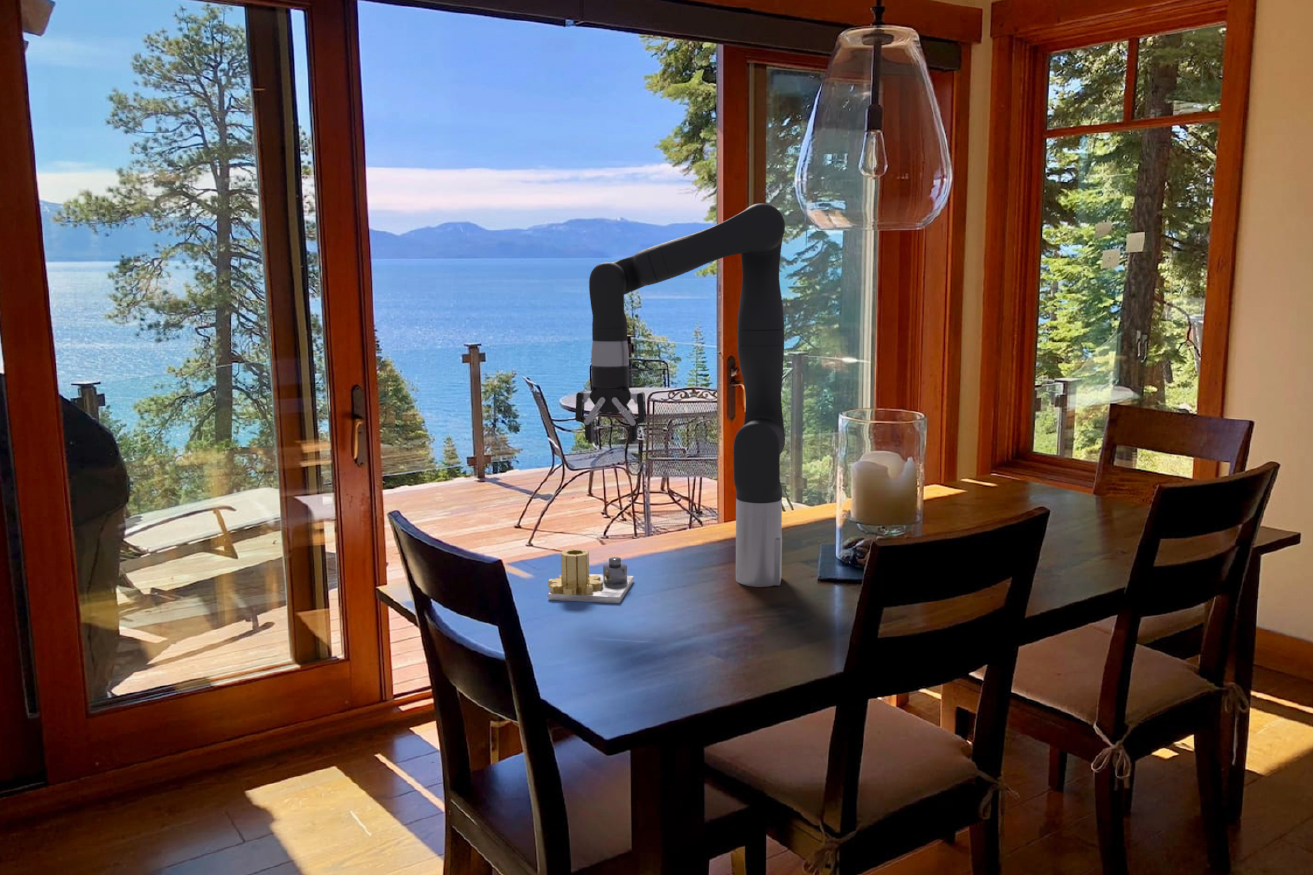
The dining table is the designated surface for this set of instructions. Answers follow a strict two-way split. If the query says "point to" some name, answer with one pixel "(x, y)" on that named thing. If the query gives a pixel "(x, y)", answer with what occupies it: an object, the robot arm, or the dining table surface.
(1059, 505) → the dining table surface
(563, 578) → the planet gear
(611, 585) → the plate
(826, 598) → the dining table surface
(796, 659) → the dining table surface
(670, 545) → the dining table surface
